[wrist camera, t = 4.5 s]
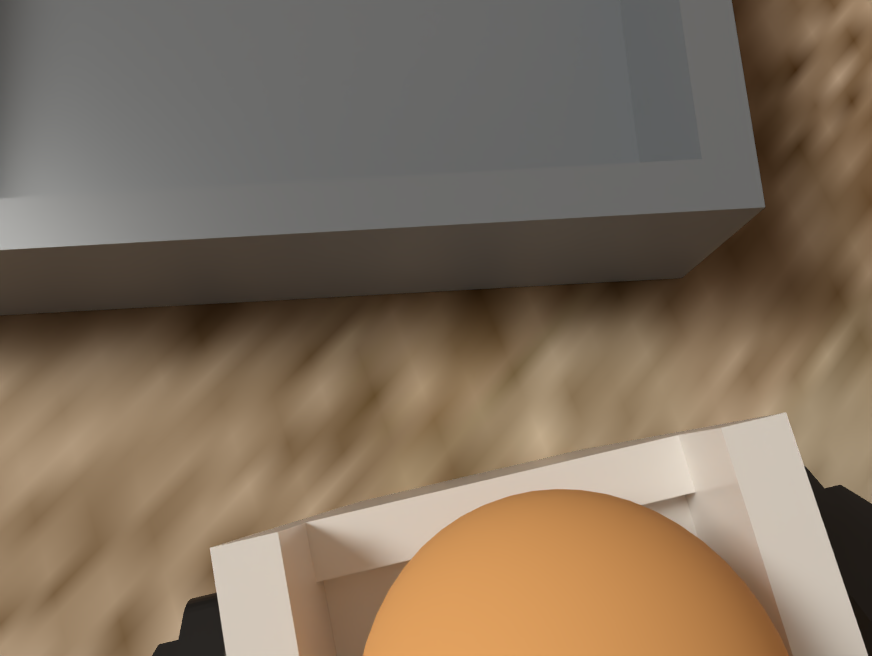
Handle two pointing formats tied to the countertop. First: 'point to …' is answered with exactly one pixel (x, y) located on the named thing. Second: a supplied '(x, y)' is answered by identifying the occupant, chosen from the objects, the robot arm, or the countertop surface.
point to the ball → (569, 587)
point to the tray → (362, 147)
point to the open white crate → (579, 470)
